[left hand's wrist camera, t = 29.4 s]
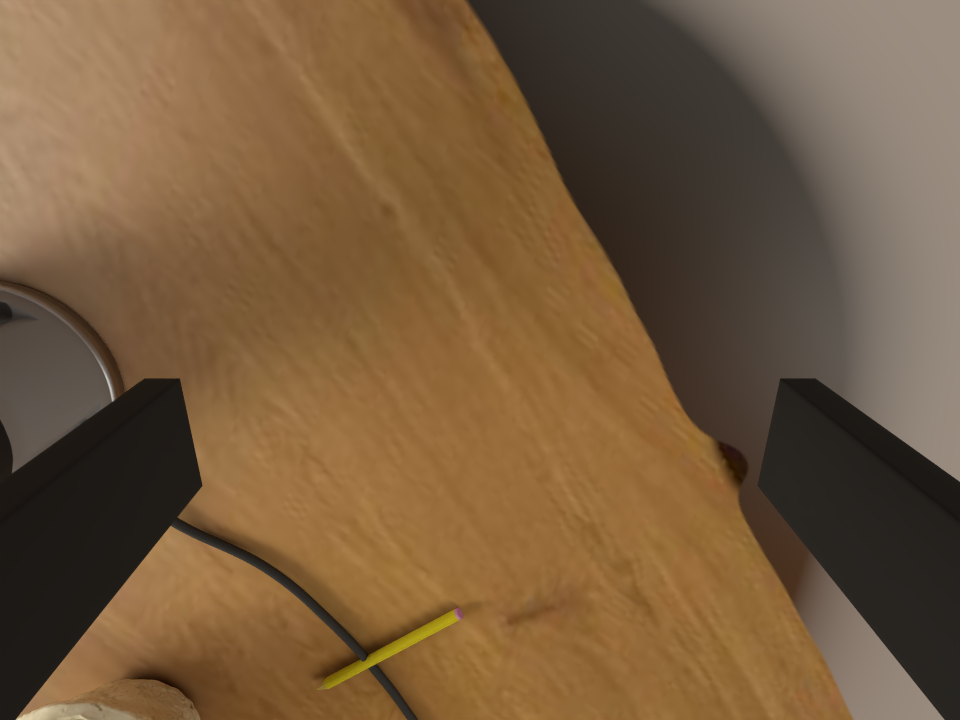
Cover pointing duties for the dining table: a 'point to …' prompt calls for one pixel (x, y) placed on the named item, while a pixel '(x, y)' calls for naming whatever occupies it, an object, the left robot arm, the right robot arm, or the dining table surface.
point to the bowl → (122, 704)
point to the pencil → (392, 648)
